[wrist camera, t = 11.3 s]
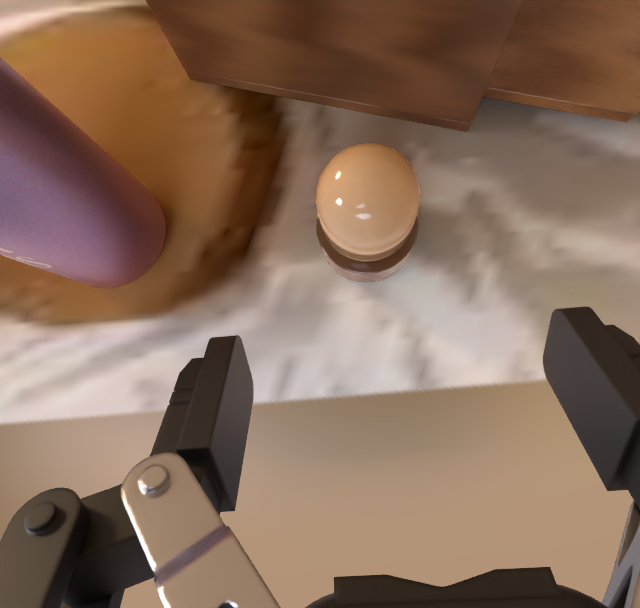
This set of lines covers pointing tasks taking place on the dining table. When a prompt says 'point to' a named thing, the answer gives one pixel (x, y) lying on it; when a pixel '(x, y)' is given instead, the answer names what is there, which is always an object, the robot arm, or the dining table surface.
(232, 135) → the dining table surface
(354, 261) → the egg
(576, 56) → the drawer
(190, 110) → the dining table surface
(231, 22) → the cabinet
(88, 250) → the beverage can
